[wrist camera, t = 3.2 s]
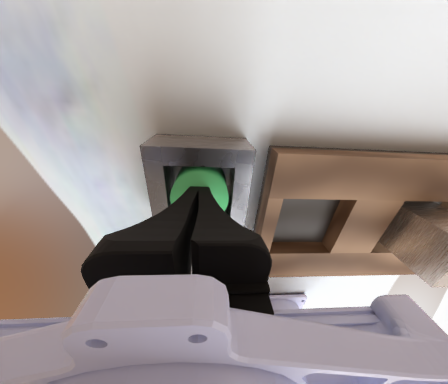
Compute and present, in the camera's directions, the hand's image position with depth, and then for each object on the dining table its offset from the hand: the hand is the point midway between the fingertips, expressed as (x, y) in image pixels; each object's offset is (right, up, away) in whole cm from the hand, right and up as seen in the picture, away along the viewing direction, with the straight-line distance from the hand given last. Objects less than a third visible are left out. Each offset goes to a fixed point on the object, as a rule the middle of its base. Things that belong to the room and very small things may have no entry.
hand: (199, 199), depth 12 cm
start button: (0, +1, +2) cm, 3 cm away
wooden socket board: (+15, -2, +6) cm, 16 cm away
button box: (0, +2, +3) cm, 4 cm away
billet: (+20, -2, +6) cm, 22 cm away
